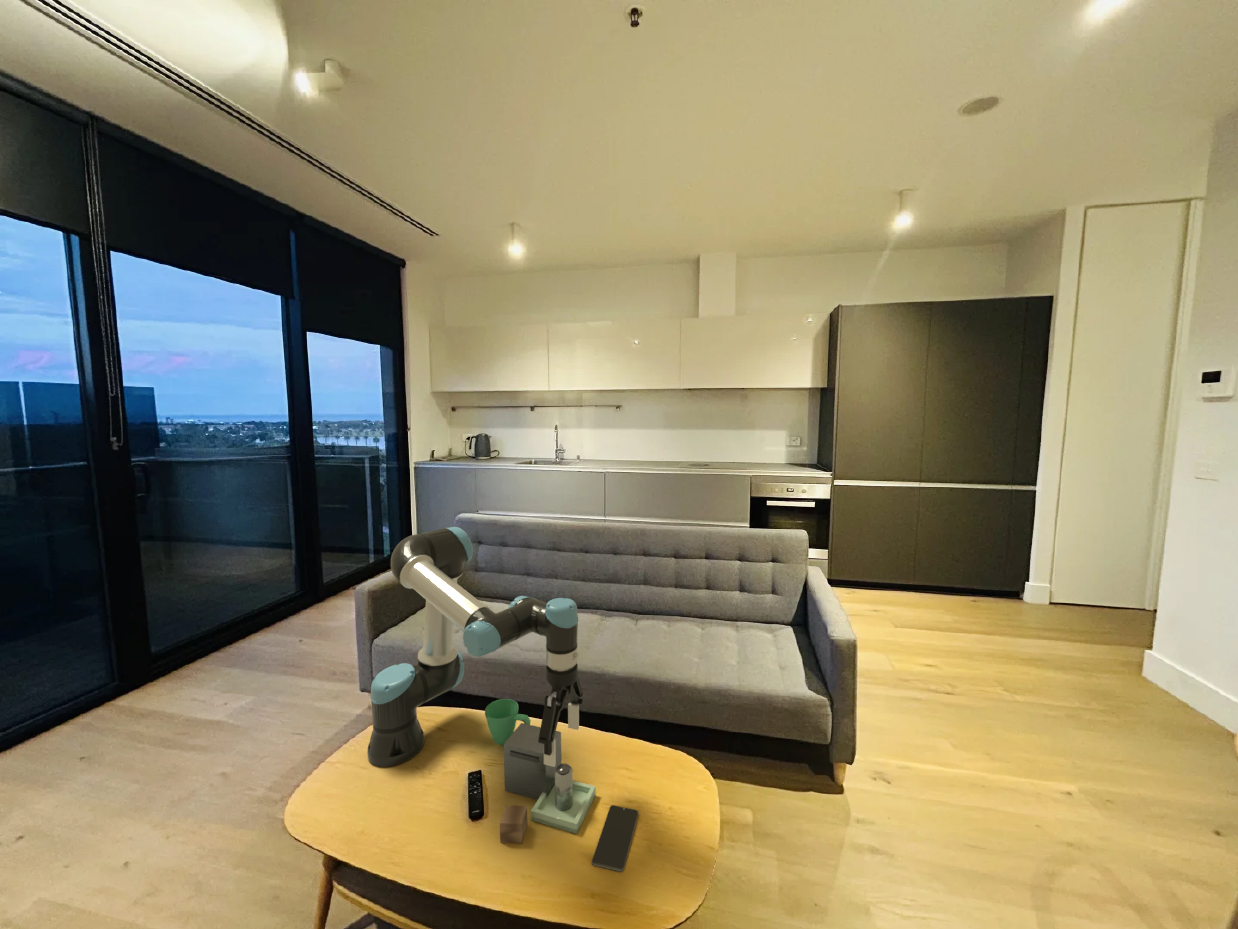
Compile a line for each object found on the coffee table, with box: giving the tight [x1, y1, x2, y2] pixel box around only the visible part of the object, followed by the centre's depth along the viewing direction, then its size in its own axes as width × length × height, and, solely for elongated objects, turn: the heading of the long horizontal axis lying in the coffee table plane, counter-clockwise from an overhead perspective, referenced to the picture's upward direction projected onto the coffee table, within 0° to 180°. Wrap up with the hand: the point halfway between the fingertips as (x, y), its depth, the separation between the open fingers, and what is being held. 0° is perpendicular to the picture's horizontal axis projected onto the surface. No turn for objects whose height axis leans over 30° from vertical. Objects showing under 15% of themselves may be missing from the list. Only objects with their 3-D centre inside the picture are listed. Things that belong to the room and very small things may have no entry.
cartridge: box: [555, 762, 574, 811], centre depth 118 cm, size 4×4×10 cm
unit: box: [503, 722, 562, 801], centre depth 126 cm, size 12×10×13 cm
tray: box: [530, 780, 597, 835], centre depth 118 cm, size 12×12×2 cm
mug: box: [484, 698, 531, 746], centre depth 142 cm, size 15×10×10 cm
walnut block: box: [499, 804, 528, 845], centre depth 111 cm, size 5×5×5 cm
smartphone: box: [591, 804, 639, 873], centre depth 110 cm, size 7×1×16 cm
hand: (562, 745), depth 117 cm, fingers open, 13 cm apart
